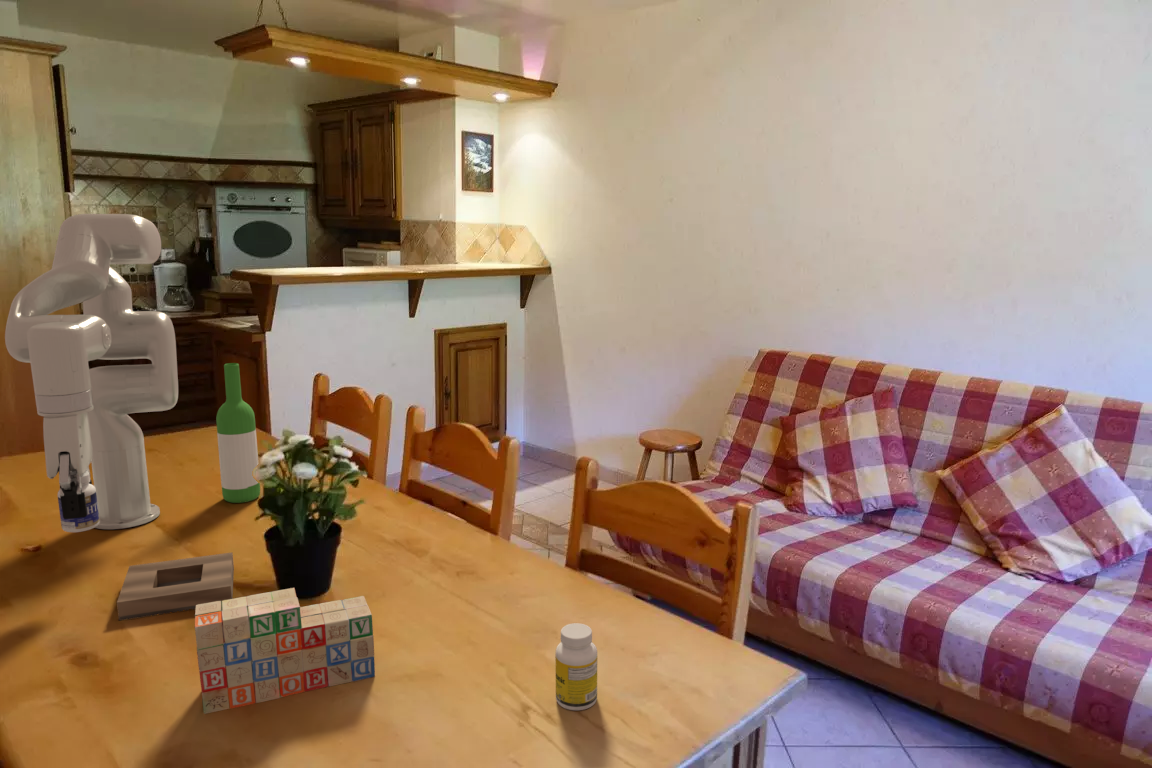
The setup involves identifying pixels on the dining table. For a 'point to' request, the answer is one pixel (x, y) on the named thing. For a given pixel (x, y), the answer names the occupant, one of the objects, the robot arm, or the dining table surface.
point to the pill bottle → (91, 506)
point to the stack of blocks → (279, 647)
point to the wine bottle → (237, 442)
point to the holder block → (175, 585)
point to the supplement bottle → (576, 668)
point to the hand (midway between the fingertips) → (79, 509)
